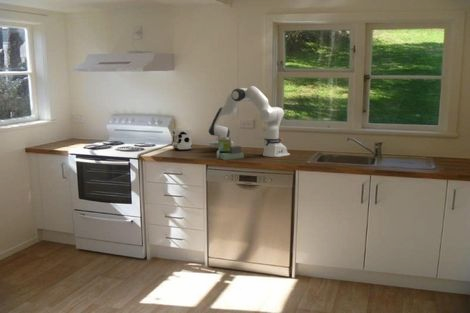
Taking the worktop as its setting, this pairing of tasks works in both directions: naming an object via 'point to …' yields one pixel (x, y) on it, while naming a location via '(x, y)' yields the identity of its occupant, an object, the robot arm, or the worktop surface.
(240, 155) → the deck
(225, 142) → the tea box
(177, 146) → the milk container
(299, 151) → the worktop surface
